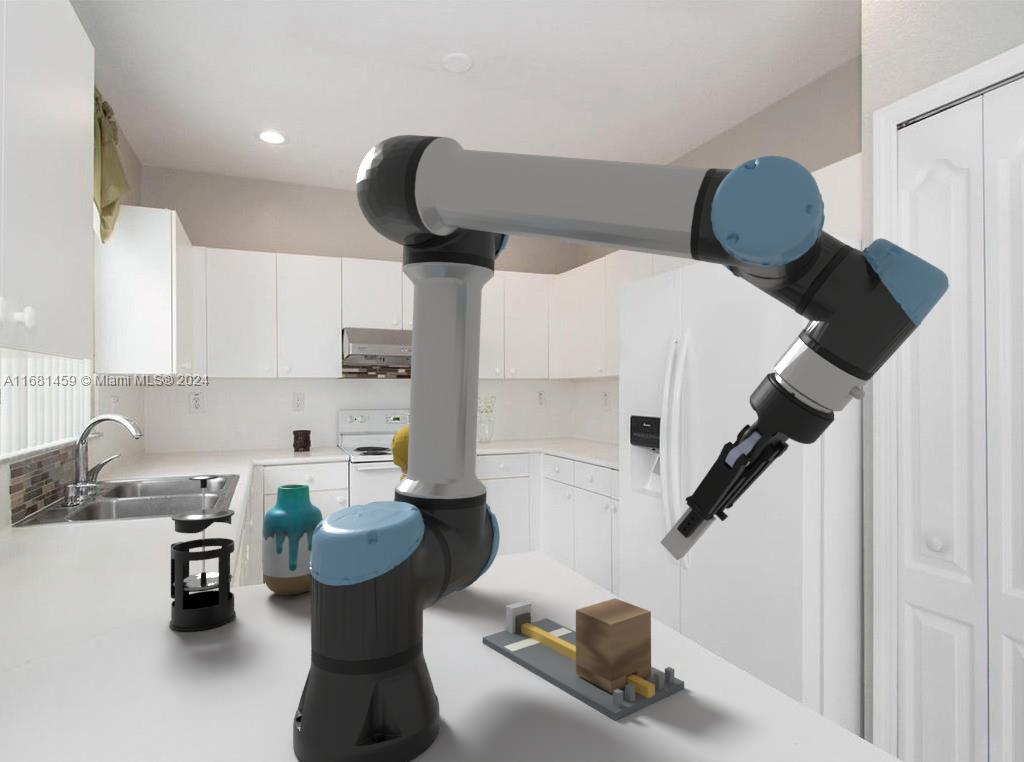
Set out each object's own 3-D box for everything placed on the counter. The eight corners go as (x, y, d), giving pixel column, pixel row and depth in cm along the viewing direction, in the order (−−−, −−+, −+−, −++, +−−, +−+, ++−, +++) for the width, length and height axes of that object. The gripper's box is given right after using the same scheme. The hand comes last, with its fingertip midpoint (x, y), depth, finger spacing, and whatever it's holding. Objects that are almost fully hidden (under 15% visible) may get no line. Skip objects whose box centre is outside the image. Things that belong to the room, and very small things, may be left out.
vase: (304, 604, 104) (304, 491, 104) (248, 600, 106) (248, 489, 107) (334, 584, 114) (334, 482, 115) (283, 581, 117) (283, 481, 117)
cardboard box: (651, 675, 75) (650, 611, 75) (611, 692, 71) (610, 624, 71) (615, 658, 80) (615, 598, 80) (576, 673, 76) (575, 609, 76)
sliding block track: (684, 688, 74) (684, 651, 74) (615, 720, 67) (615, 680, 67) (546, 623, 95) (546, 595, 95) (482, 642, 88) (482, 612, 88)
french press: (252, 615, 99) (252, 473, 100) (202, 636, 91) (202, 481, 91) (199, 605, 104) (200, 469, 104) (147, 625, 95) (148, 477, 96)
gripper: (816, 421, 54) (668, 591, 64) (854, 411, 64) (719, 560, 74) (749, 369, 58) (619, 538, 68) (794, 367, 67) (674, 515, 78)
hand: (671, 549), depth 71 cm, fingers closed
